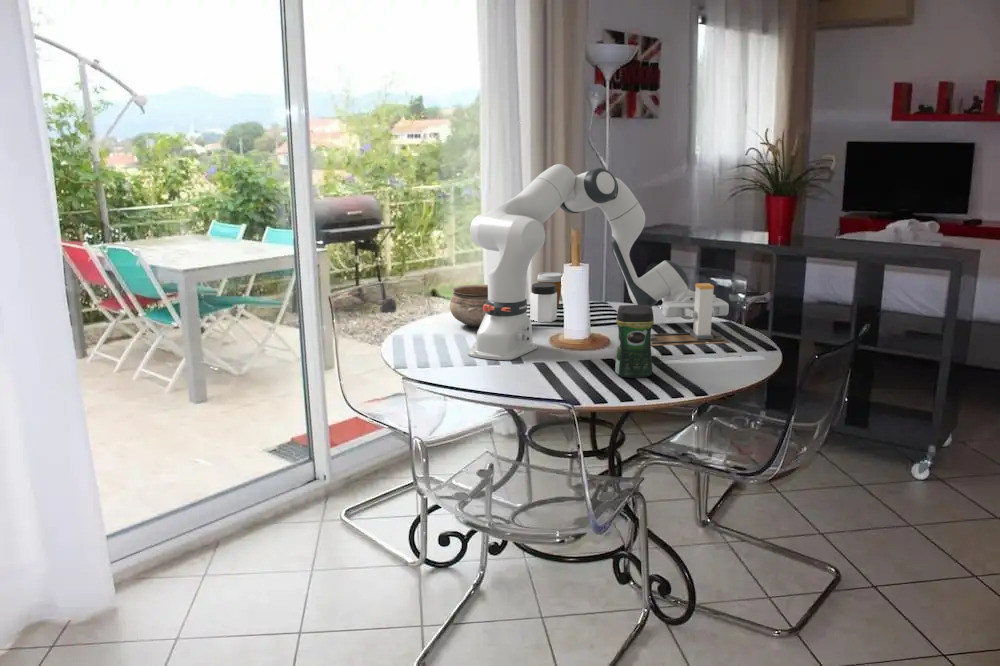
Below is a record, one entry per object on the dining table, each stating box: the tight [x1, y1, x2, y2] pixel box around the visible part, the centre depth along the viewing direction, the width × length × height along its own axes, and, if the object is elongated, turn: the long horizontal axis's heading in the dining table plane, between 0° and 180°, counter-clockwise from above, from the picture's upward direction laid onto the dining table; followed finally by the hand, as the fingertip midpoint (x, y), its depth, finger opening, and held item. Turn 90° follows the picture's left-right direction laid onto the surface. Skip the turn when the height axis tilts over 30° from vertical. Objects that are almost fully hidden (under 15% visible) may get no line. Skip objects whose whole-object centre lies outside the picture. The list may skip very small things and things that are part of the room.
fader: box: [689, 282, 715, 339], centre depth 241 cm, size 5×6×16 cm
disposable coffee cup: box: [536, 271, 563, 308], centre depth 290 cm, size 10×10×12 cm
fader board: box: [651, 331, 732, 347], centre depth 242 cm, size 26×13×2 cm, turn 97°
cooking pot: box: [449, 284, 488, 330], centre depth 262 cm, size 25×19×12 cm
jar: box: [529, 282, 558, 323], centre depth 270 cm, size 9×8×12 cm
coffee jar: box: [614, 304, 655, 379], centre depth 209 cm, size 10×8×19 cm
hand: (703, 314), depth 241 cm, fingers closed on fader, 4 cm apart
